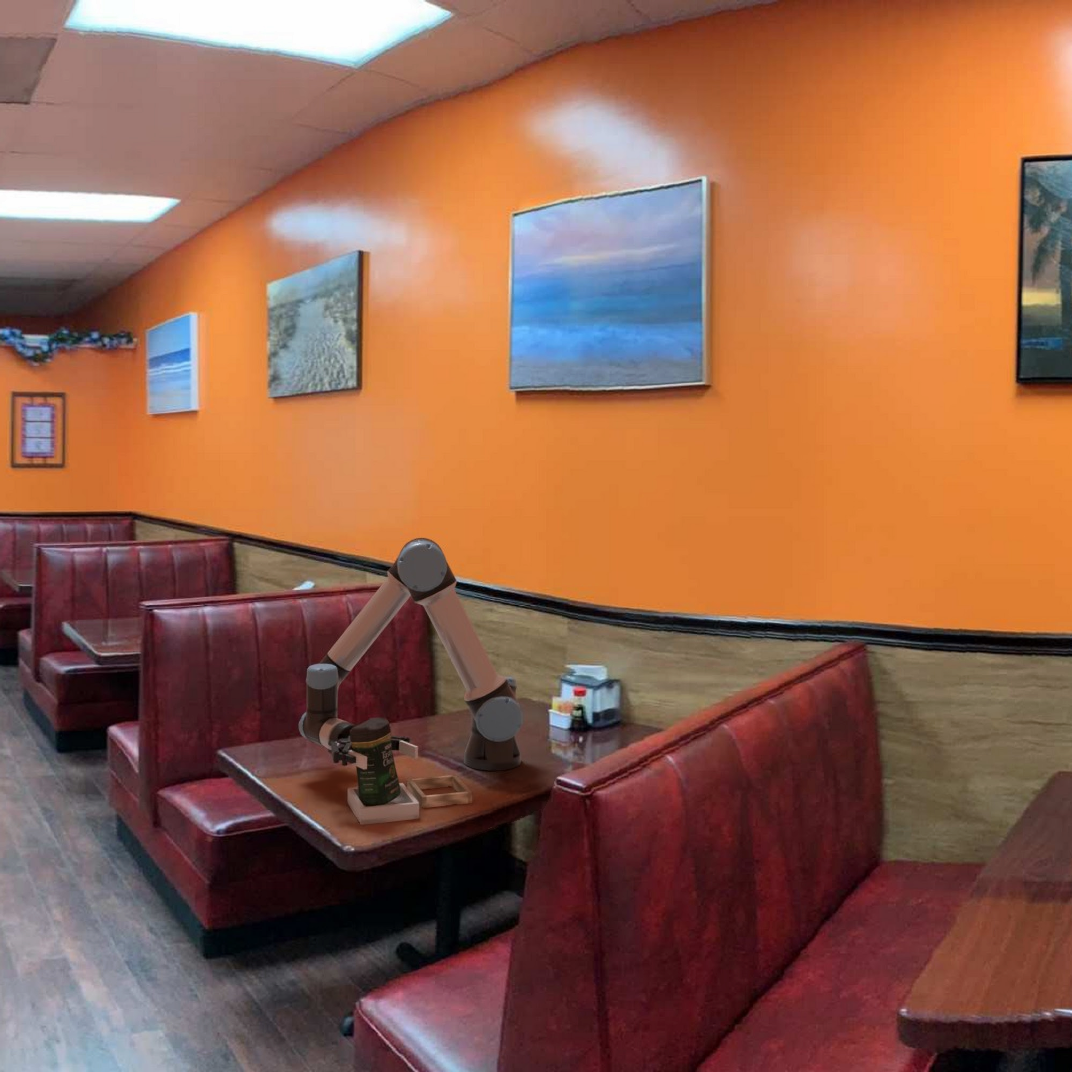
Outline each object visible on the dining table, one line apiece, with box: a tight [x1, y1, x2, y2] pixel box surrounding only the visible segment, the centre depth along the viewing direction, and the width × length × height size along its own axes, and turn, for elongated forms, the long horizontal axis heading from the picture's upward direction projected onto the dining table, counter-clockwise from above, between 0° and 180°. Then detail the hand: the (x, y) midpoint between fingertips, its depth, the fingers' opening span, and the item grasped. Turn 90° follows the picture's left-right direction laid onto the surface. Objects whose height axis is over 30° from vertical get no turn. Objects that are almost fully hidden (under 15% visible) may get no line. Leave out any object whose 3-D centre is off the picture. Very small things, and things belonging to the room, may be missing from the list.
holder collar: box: [406, 774, 473, 809], centre depth 241 cm, size 12×14×2 cm
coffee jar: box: [350, 717, 401, 807], centre depth 230 cm, size 10×8×19 cm
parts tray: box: [347, 782, 420, 826], centre depth 230 cm, size 13×15×4 cm
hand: (391, 757), depth 227 cm, fingers open, 13 cm apart
